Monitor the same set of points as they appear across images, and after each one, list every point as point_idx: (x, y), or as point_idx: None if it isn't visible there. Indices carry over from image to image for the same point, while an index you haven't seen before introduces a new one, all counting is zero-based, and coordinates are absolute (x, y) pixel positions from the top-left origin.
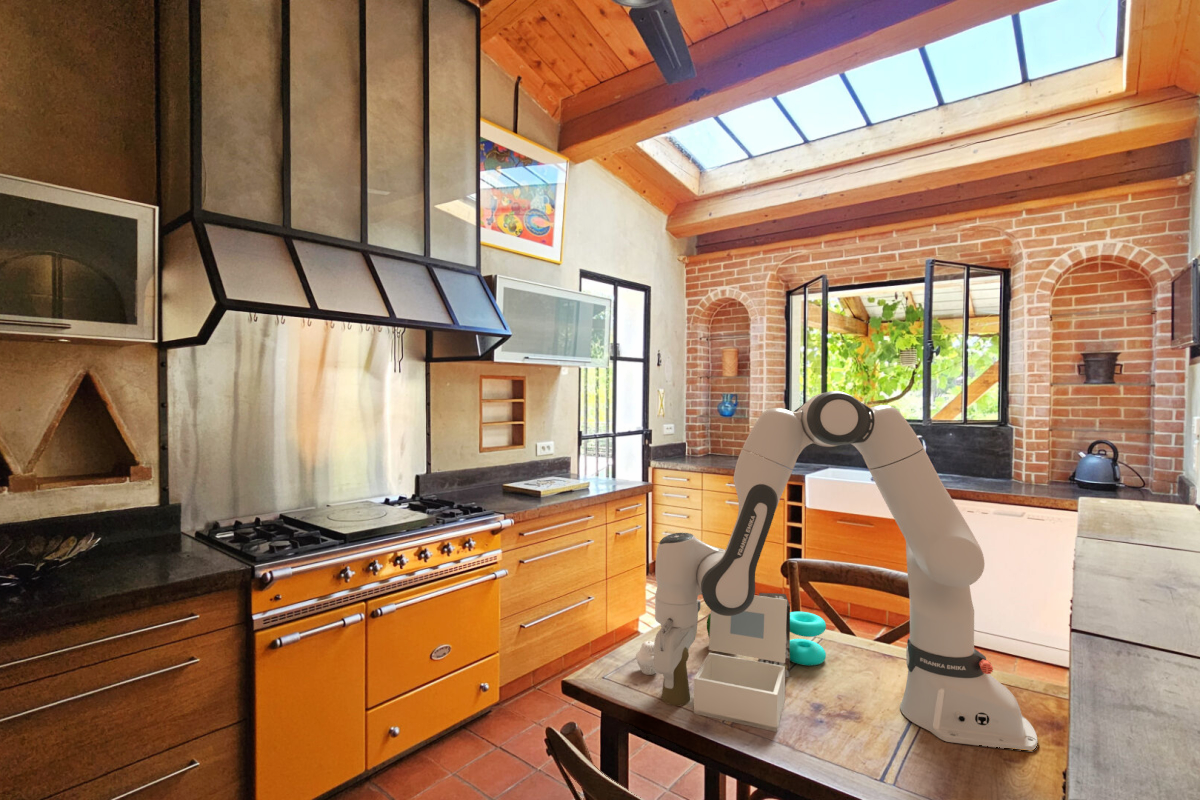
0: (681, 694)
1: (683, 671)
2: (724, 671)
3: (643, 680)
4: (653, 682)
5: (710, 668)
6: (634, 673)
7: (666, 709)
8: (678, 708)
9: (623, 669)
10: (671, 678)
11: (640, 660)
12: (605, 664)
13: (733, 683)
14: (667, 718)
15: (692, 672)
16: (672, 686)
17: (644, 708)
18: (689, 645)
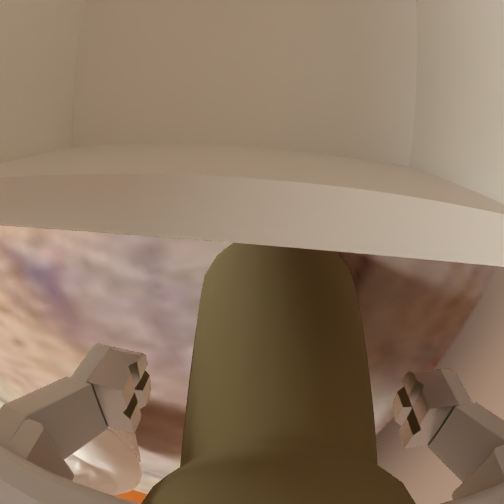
0: (349, 294)
1: (346, 392)
2: (18, 63)
3: (179, 427)
4: (174, 401)
5: (29, 160)
6: (148, 446)
7: (398, 320)
8: (381, 273)
9: (144, 465)
10: (486, 418)
11: (139, 481)
12: (147, 489)
13: (68, 18)
14: (465, 298)
15: (15, 267)
16: (455, 375)
17: (398, 389)
18: (19, 494)
